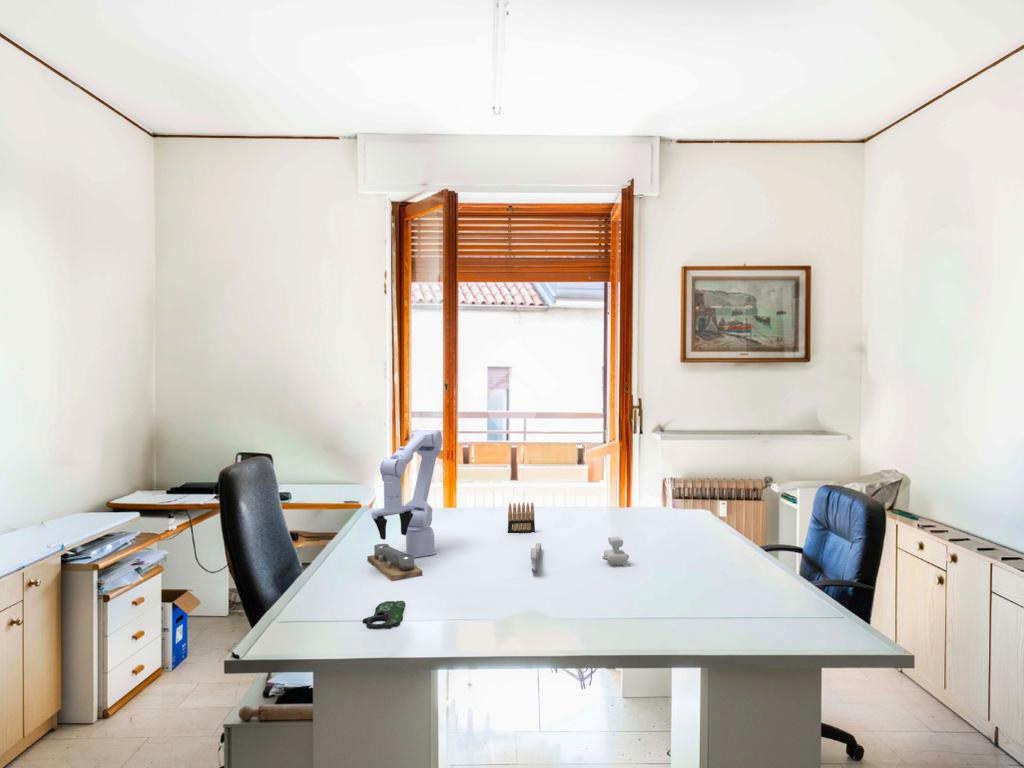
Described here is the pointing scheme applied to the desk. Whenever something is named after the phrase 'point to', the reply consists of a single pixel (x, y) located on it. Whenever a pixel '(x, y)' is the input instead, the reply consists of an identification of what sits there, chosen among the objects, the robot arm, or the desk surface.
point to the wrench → (535, 556)
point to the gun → (386, 615)
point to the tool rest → (393, 569)
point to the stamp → (615, 552)
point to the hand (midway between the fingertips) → (393, 536)
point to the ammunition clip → (526, 520)
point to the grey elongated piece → (394, 557)
